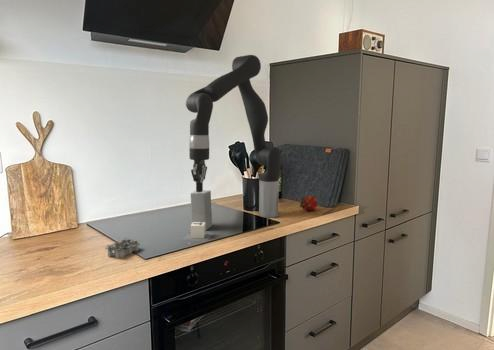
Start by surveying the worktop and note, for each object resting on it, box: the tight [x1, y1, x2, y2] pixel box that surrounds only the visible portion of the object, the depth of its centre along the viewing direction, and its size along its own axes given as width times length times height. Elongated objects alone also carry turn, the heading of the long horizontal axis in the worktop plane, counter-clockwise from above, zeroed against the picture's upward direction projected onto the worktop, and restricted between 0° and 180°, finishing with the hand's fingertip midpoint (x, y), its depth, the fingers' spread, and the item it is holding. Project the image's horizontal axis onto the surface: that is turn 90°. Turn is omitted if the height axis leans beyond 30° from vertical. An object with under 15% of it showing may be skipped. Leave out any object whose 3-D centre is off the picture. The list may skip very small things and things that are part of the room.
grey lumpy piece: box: [105, 237, 141, 259], centre depth 125 cm, size 11×8×4 cm
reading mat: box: [181, 231, 215, 242], centre depth 143 cm, size 10×10×1 cm
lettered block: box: [190, 222, 206, 238], centre depth 143 cm, size 5×5×5 cm
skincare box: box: [190, 189, 213, 231], centre depth 154 cm, size 8×7×16 cm
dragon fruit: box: [299, 195, 319, 212], centre depth 185 cm, size 8×8×12 cm
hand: (199, 191), depth 140 cm, fingers closed
